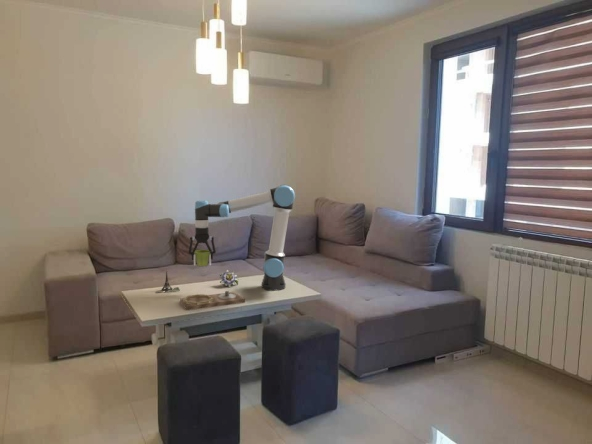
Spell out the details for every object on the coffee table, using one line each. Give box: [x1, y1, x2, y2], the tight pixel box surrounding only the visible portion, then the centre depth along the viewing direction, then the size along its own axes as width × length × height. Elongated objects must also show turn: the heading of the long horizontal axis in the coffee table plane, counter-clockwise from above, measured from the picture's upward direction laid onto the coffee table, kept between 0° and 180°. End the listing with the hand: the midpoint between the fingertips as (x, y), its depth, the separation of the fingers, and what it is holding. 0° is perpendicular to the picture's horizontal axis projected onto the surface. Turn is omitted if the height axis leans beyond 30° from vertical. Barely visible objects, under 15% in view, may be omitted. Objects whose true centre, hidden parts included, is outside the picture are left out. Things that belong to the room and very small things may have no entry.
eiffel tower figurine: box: [160, 270, 181, 294], centre depth 276 cm, size 15×10×13 cm
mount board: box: [179, 290, 246, 311], centre depth 254 cm, size 32×16×5 cm, turn 119°
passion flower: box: [219, 269, 239, 288], centre depth 290 cm, size 11×11×12 cm
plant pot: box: [194, 249, 210, 268], centre depth 271 cm, size 9×9×9 cm
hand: (202, 265), depth 271 cm, fingers closed on plant pot, 8 cm apart
